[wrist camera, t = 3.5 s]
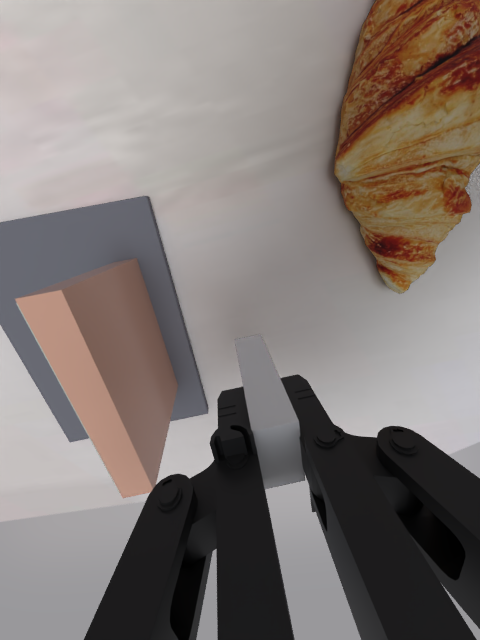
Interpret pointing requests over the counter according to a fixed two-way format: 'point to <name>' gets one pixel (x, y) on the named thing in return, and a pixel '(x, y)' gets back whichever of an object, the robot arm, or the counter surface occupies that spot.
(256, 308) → the counter surface
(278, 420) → the robot arm
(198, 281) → the counter surface
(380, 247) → the croissant
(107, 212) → the mat
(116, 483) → the block
